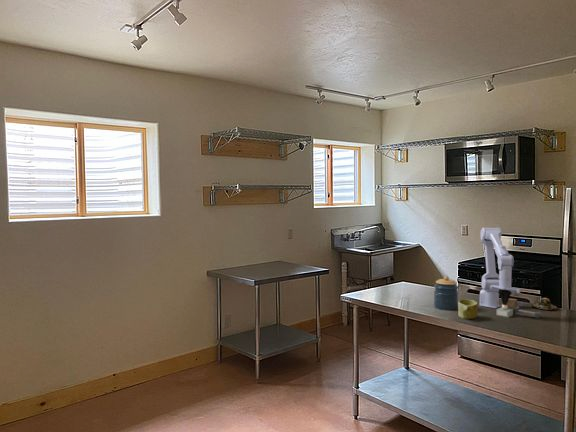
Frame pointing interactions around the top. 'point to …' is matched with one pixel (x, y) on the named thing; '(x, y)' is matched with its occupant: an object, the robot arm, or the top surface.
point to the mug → (467, 309)
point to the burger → (544, 304)
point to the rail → (528, 313)
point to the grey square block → (504, 312)
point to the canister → (446, 294)
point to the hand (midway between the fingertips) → (504, 304)
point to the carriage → (512, 305)
